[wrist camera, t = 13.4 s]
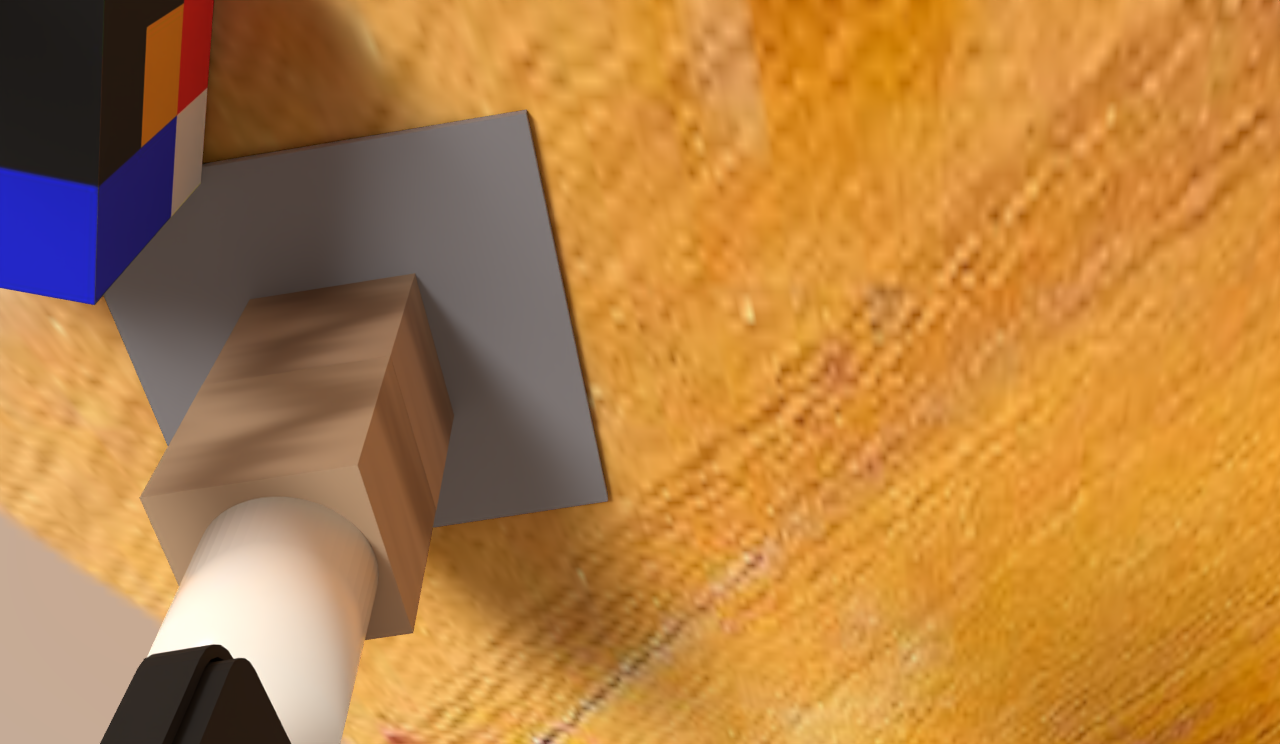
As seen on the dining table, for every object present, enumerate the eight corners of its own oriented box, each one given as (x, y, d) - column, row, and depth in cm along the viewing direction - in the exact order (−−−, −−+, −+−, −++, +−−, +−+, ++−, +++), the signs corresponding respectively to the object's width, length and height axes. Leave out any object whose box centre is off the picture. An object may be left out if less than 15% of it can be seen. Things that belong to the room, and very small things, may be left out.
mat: (526, 109, 40) (525, 113, 40) (607, 495, 48) (607, 501, 48) (63, 186, 41) (59, 191, 40) (219, 553, 49) (216, 560, 48)
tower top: (389, 355, 37) (357, 464, 32) (436, 510, 40) (412, 633, 35) (202, 385, 38) (139, 498, 32) (261, 536, 41) (213, 661, 35)
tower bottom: (414, 273, 42) (390, 355, 37) (454, 415, 45) (436, 510, 40) (249, 299, 43) (202, 384, 38) (299, 438, 46) (261, 535, 41)
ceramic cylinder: (351, 484, 32) (305, 637, 27) (398, 623, 35) (364, 788, 30) (171, 511, 33) (91, 668, 27) (230, 647, 35) (167, 815, 30)
